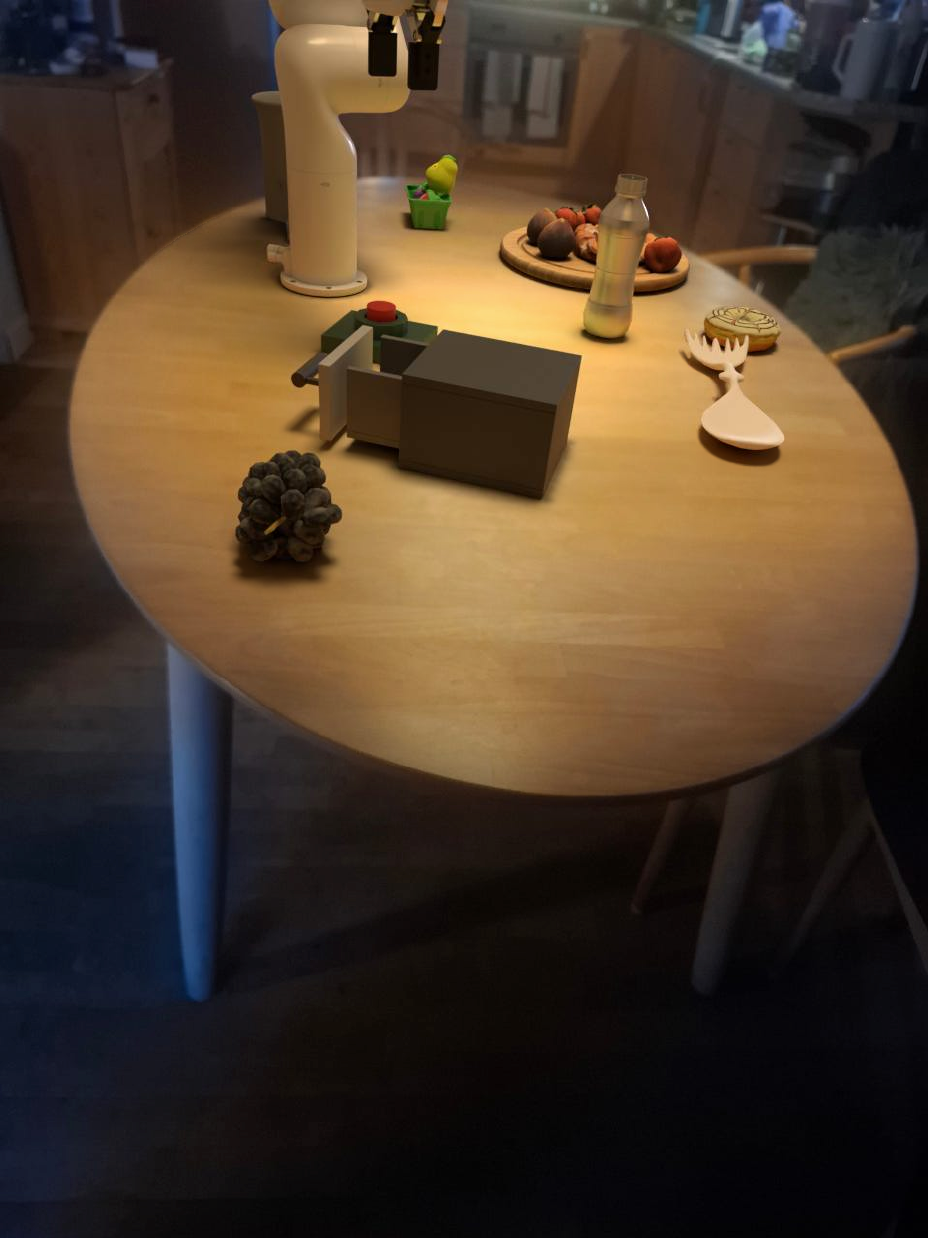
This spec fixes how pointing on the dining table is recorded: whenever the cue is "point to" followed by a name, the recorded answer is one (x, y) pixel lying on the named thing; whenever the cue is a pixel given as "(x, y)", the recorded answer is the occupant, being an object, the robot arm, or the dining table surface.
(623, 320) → the plastic bottle
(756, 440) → the cream spork
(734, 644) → the dining table surface
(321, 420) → the drawer
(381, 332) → the control block
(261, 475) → the fruit
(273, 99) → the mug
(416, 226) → the fruit basket
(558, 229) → the wooden plate
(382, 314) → the button
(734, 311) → the decorated donut
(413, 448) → the cabinet
